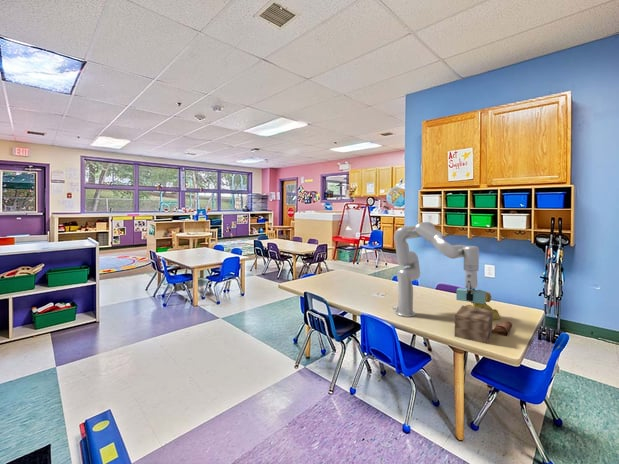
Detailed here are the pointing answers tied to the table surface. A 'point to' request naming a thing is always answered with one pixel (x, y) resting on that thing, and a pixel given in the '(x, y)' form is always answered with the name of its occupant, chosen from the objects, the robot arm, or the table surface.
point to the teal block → (477, 295)
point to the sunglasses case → (502, 328)
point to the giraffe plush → (486, 306)
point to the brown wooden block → (473, 324)
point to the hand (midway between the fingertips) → (470, 299)
